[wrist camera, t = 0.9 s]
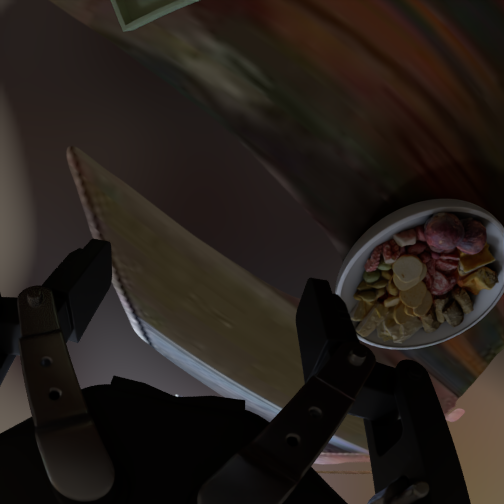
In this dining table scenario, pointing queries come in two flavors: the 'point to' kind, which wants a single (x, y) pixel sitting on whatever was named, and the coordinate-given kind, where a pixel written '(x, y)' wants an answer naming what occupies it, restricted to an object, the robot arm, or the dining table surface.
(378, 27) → the dining table surface
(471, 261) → the bowl
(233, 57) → the dining table surface
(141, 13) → the tray
